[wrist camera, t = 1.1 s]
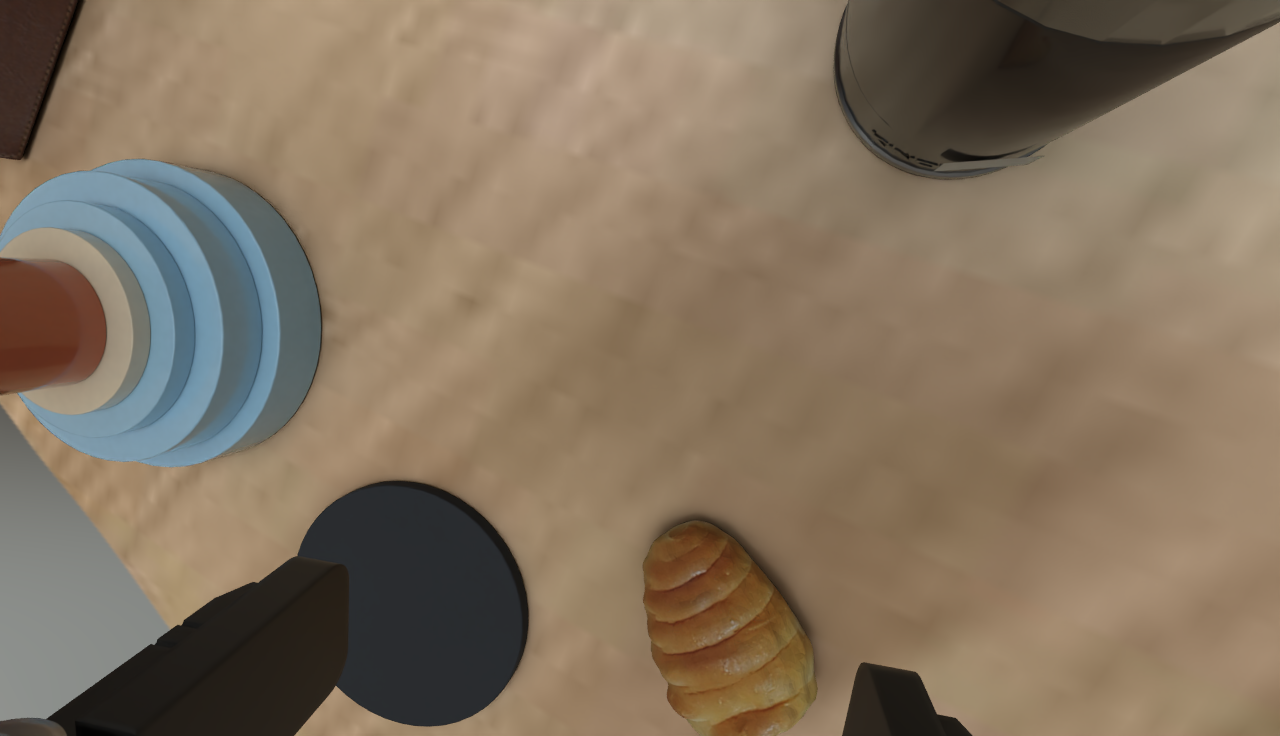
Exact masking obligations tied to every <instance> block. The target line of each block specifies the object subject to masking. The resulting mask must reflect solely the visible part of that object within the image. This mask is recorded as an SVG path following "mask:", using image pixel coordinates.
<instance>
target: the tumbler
mask: <svg viewBox="0 0 1280 736" xmlns="http://www.w3.org/2000/svg"><path fill="white" fill-rule="evenodd" d="M105 345H106V320H105V315H104V311H103V308H102V305H101V302H100V300H99V298H98V295H97V294H96V292H95V290H94V288H93V287H92V285H91V284H90V283H89V281H88V280H87V279H86V278H85V277H84V276H83V275H82V274H81V273H80V272H79V271H78V270H77V269H75V268H74V267H72V266H70V265H69V264H67V263H65V262H62V261H59V260H55V259H42V258H13V257H0V395H7V394H14V393H21V392H28V391H35V390H42V389H49V388H56V387H63V386H70V385H74V384H77V383H79V382H81V381H83V380H85V379H86V378H88V377H89V376H90V375H91V374H92V373H93V372H94V371H95V369H96V368H97V367H98V365H99V363H100V361H101V359H102V356H103V353H104V349H105Z"/></svg>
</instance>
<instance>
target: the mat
mask: <svg viewBox="0 0 1280 736" xmlns="http://www.w3.org/2000/svg"><path fill="white" fill-rule="evenodd" d="M298 556H300V557H306V558H311V559H317V560H322V561H327V562H333V563H338V564H343V565H344V566H346V568H347V570H348V573H349V626H348V653H347V659H346V663H345V666H344V669H343V671H342V674H341V676H340V678H339V680H338V682H337V684H336V686H337V687H338V688H339V689H340V690H341V691H342V692H343V693H345V694H346V695H347V696H348V697H349V698H351V699H352V700H353V701H355V702H356V703H357V704H359V705H360V706H362V707H364V708H365V709H367V710H369V711H370V712H372V713H374V714H377V715H379V716H381V717H383V718H386V719H388V720H392V721H395V722H398V723H402V724H407V725H413V726H429V727H430V726H441V725H447V724H451V723H455V722H459V721H461V720H463V719H466V718H468V717H471V716H473V715H474V714H476V713H478V712H479V711H481V710H483V709H484V708H485V707H486V706H488V705H489V704H490V703H491V702H492V701H493V700H495V698H496V697H497V696H498V695H499V694H500V693H501V691H502V690H503V689H504V688H505V686H506V685H507V683H508V682H509V680H510V679H511V677H512V675H513V674H514V672H515V671H516V669H517V667H518V664H519V662H520V660H521V657H522V655H523V651H524V647H525V643H526V638H527V630H528V607H527V600H526V593H525V589H524V585H523V582H522V578H521V575H520V573H519V570H518V568H517V565H516V563H515V560H514V559H513V557H512V555H511V553H510V551H509V550H508V548H507V546H506V545H505V543H504V542H503V540H502V539H501V538H500V536H499V535H498V533H497V532H496V531H495V530H494V529H493V528H492V526H491V525H490V524H489V523H488V522H487V521H486V520H485V519H484V518H483V517H482V516H481V515H480V514H478V513H477V512H476V511H475V510H474V509H473V508H471V507H470V506H468V505H467V504H465V503H464V502H463V501H461V500H460V499H458V498H456V497H454V496H452V495H450V494H448V493H447V492H445V491H442V490H439V489H437V488H434V487H431V486H428V485H423V484H419V483H415V482H405V481H389V482H380V483H375V484H371V485H367V486H365V487H362V488H359V489H357V490H355V491H352V492H350V493H348V494H347V495H345V496H343V497H341V498H339V499H338V500H336V501H335V502H333V503H332V504H331V505H330V506H328V507H327V508H326V509H325V510H324V511H323V512H322V513H321V514H320V515H319V516H318V517H317V518H316V520H315V521H314V522H313V524H312V525H311V527H310V528H309V530H308V531H307V533H306V535H305V537H304V539H303V541H302V543H301V546H300V549H299V553H298Z"/></svg>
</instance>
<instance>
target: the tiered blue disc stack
mask: <svg viewBox="0 0 1280 736" xmlns="http://www.w3.org/2000/svg"><path fill="white" fill-rule="evenodd" d="M0 257H13V258H42V259H55V260H59V261H62V262H65V263H67V264H69V265H70V266H72V267H74V268H75V269H77V270H78V271H79V272H80V273H81V274H82V275H83V276H84V277H85V278H86V279H87V280H88V281H89V283H90V284H91V285H92V287H93V288H94V290H95V292H96V294H97V295H98V298H99V300H100V302H101V305H102V308H103V311H104V315H105V320H106V345H105V349H104V353H103V356H102V359H101V361H100V363H99V365H98V367H97V368H96V369H95V371H94V372H93V373H92V374H91V375H90V376H89V377H88V378H86V379H85V380H83V381H81V382H79V383H77V384H74V385H70V386H63V387H56V388H49V389H42V390H35V391H28V392H21V393H17V394H18V395H19V396H20V398H21V399H22V401H23V402H24V403H25V405H26V406H27V408H28V409H29V410H30V411H31V413H32V414H33V415H34V416H35V417H36V418H37V420H38V421H39V422H40V423H41V424H42V425H43V426H45V427H46V428H47V429H48V430H49V431H50V432H51V433H52V434H53V435H55V436H56V437H57V438H59V439H60V440H62V441H63V442H64V443H66V444H68V445H69V446H71V447H73V448H75V449H76V450H78V451H80V452H83V453H85V454H88V455H90V456H93V457H96V458H101V459H105V460H109V461H120V462H129V461H137V462H141V463H145V464H149V465H153V466H162V467H183V466H190V465H194V464H198V463H203V462H206V461H209V460H212V459H215V458H219V457H222V456H225V455H228V454H232V453H235V452H238V451H241V450H244V449H247V448H250V447H252V446H254V445H257V444H259V443H261V442H263V441H264V440H266V439H267V438H269V437H271V436H272V435H274V434H275V433H276V432H277V431H278V430H279V429H281V428H282V427H283V426H284V425H285V424H286V423H287V422H288V421H289V419H290V418H291V417H292V416H293V415H294V414H295V412H296V411H297V409H298V408H299V406H300V405H301V403H302V401H303V400H304V398H305V396H306V394H307V392H308V390H309V387H310V385H311V383H312V380H313V377H314V374H315V370H316V367H317V363H318V357H319V352H320V343H321V313H320V304H319V298H318V293H317V288H316V284H315V281H314V277H313V274H312V270H311V268H310V266H309V263H308V261H307V258H306V256H305V253H304V251H303V249H302V248H301V246H300V244H299V242H298V240H297V239H296V237H295V235H294V233H293V232H292V231H291V229H290V228H289V226H288V225H287V224H286V222H285V221H284V219H283V218H282V217H281V216H280V215H279V214H278V213H277V212H276V211H275V209H274V208H273V207H272V206H271V205H270V204H269V203H267V202H266V201H265V200H264V199H263V198H262V197H260V196H259V195H258V194H257V193H256V192H254V191H253V190H251V189H250V188H248V187H246V186H245V185H243V184H242V183H240V182H238V181H236V180H234V179H231V178H229V177H227V176H225V175H222V174H218V173H215V172H211V171H207V170H202V169H197V168H192V167H187V166H182V165H177V164H172V163H167V162H162V161H155V160H147V159H126V160H121V161H116V162H111V163H108V164H105V165H103V166H100V167H98V168H95V169H93V170H91V171H77V172H72V173H67V174H63V175H60V176H58V177H55V178H53V179H50V180H48V181H46V182H45V183H43V184H42V185H40V186H38V187H37V188H35V189H34V190H33V191H32V192H31V193H29V194H28V195H27V196H26V197H25V198H24V199H23V200H22V201H21V202H20V204H19V205H18V206H17V207H16V208H15V210H14V211H13V213H12V214H11V216H10V217H9V219H8V221H7V222H6V224H5V226H4V228H3V231H2V233H1V235H0Z"/></svg>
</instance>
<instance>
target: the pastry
mask: <svg viewBox="0 0 1280 736" xmlns="http://www.w3.org/2000/svg"><path fill="white" fill-rule="evenodd" d="M643 571H644V582H645V592H644V597H643V603H644V605H645V610H646V613H647V618H648V620H647V625H648V633H649V637H650V638H651V652H652V657H653V659H654V661H655V663H656V665H657V666H658V668H659V670H660V672H661V674H662V676H663V677H664V679H665V680H666V681H667V682H668V691H667V699H668V701H669V703H670V705H671V706H672V708H673V709H674V710H675V711H676V712H677V713H678V714H679V715H680V716H682V717H683V718H686V719H687V720H688V722H689V723H690V724H691V725H692V727H693V728H694V729H695V731H697V732H698V733H699V734H700V735H701V736H776V735H778V734H779V733H782V732H786V731H788V730H789V729H790V728H792V727H793V726H794V725H795V724H796V723H797V722H798V721H799V720H800V719H801V718H802V717H803V715H804V714H805V712H806V711H807V709H808V708H809V707H810V705H811V704H812V703H813V702H814V701H815V699H816V695H817V689H818V688H817V682H816V678H815V673H814V657H813V648H812V645H811V642H810V640H809V638H808V637H807V635H806V634H805V632H804V630H803V629H802V627H801V625H800V623H799V622H798V620H797V618H796V616H795V615H794V614H793V612H792V611H791V610H790V608H789V606H788V605H787V603H786V601H785V600H784V598H783V597H782V595H781V594H780V593H779V591H778V590H777V589H776V587H775V586H774V585H773V584H772V583H771V581H770V580H769V579H768V578H767V576H766V575H765V574H764V573H763V572H762V570H761V569H760V568H759V567H758V566H757V565H756V564H755V562H754V561H753V560H752V559H751V558H750V556H749V555H748V554H747V553H746V551H745V550H744V549H743V548H742V547H741V545H740V544H739V543H738V542H737V541H736V540H735V539H734V538H733V537H731V536H730V535H728V534H726V533H725V532H723V531H722V530H720V529H719V528H717V527H716V526H714V525H712V524H710V523H707V522H703V521H698V520H693V521H689V522H686V523H682V524H679V525H677V526H675V527H673V528H672V529H670V530H669V531H668V532H666V533H665V534H664V535H662V536H660V537H659V538H657V539H656V540H655V541H654V542H653V544H652V545H651V548H650V550H649V552H648V554H647V557H646V558H645V560H644V562H643Z"/></svg>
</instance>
